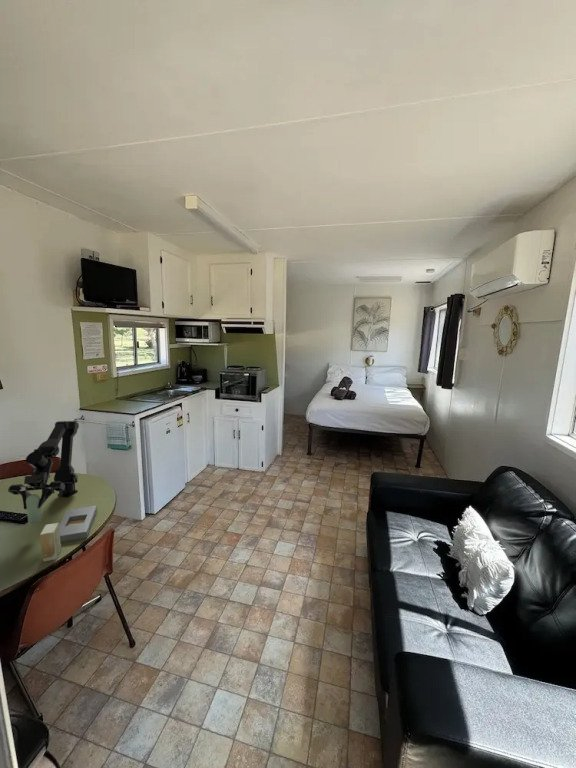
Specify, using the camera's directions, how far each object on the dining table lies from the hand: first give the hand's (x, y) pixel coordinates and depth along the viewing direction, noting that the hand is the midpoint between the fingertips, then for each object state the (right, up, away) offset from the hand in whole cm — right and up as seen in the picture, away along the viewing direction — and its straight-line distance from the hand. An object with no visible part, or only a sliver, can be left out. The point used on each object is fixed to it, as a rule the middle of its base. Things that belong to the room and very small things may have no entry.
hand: (32, 508), depth 127 cm
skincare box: (+14, -16, -7) cm, 22 cm away
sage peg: (-1, -6, +3) cm, 7 cm away
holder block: (+11, -12, +11) cm, 20 cm away
